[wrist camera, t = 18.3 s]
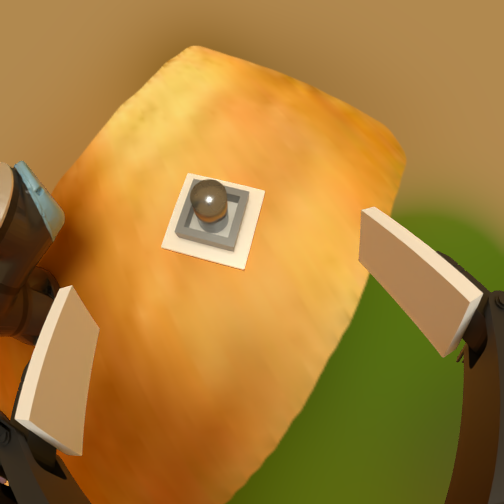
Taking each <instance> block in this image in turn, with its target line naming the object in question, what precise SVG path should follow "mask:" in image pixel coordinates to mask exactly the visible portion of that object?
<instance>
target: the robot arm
mask: <svg viewBox="0 0 504 504" xmlns="http://www.w3.org/2000/svg"><path fill="white" fill-rule="evenodd" d="M64 221H65V215H64V212H63V210H62V209H61V207H60V206H59V205H58V203H57V202H56V201H55V200H54V198H53V197H52V196H51V195H50V193H49V192H48V191H47V189H46V188H45V187H44V186H43V184H42V183H41V182H40V181H39V179H38V178H37V177H36V176H35V174H34V173H33V172H32V170H31V169H30V168H29V167H28V166H27V164H26V163H25V162H24V161H19V162H18V163H17V164H15V165H14V168H11V167H10V166H9V165H8V164H6V163H4V162H0V336H11V337H13V338H15V339H17V340H19V341H21V342H23V343H25V344H28V345H32V346H35V349H34V352H33V355H32V358H31V359H30V361H29V362H28V364H27V365H26V367H25V369H24V371H23V374H22V377H21V382H20V384H19V388H18V389H19V391H17V395H16V399H15V403H14V407H13V411H12V415H11V420H10V423H9V422H8V421H7V420H6V419H4V418H3V417H2V416H1V415H0V477H2V478H4V479H6V480H8V482H9V486H6V485H4V484H2V483H0V504H91V503H90V501H89V500H88V498H87V497H86V496H85V494H84V493H83V492H82V490H81V489H80V487H79V486H78V484H77V483H76V481H75V480H74V478H73V477H72V475H71V474H70V472H69V470H68V469H67V467H66V466H65V464H64V462H63V461H62V459H61V458H60V457H59V456H58V455H56V449H58V450H60V451H61V452H63V453H65V454H67V455H76V456H82V445H83V431H84V420H85V411H86V403H87V395H88V388H89V382H90V375H91V370H92V364H93V359H94V353H95V348H96V344H97V339H98V334H99V330H100V329H99V327H98V326H97V324H96V323H95V321H94V320H93V318H92V317H91V315H90V314H89V312H88V310H87V309H86V307H85V306H84V304H83V302H82V301H81V299H80V297H79V296H78V294H77V292H76V291H75V289H74V287H73V286H72V285H71V286H67V287H64V288H60V287H59V285H58V283H57V281H56V279H55V278H54V276H53V275H52V274H51V273H50V272H48V271H47V270H45V269H42V268H39V267H36V265H37V263H38V262H39V261H40V259H41V258H42V256H43V255H44V253H45V252H46V251H47V249H48V248H49V247H50V245H51V244H52V243H53V242H54V240H55V237H56V235H57V234H58V232H59V231H60V229H61V228H62V226H63V225H64ZM359 262H360V263H361V264H362V265H363V266H364V267H365V268H366V269H367V270H368V271H369V272H370V273H371V274H372V275H373V276H374V278H375V279H376V280H377V281H378V282H379V283H380V284H381V285H382V286H383V287H384V289H385V290H386V291H387V292H388V293H389V294H390V295H391V296H392V297H393V299H394V300H395V301H396V302H397V303H398V304H399V305H400V307H401V308H402V309H403V310H404V311H405V312H406V313H407V314H408V316H409V317H410V318H411V319H412V320H413V322H414V323H415V324H416V325H417V326H418V328H419V329H420V330H421V331H422V332H423V333H424V335H425V336H426V337H427V339H428V340H429V341H430V342H431V343H432V345H433V346H434V347H435V348H436V350H437V351H438V352H439V354H440V355H441V356H442V357H445V356H446V355H448V354H449V353H451V352H452V351H454V350H455V349H456V348H457V346H458V345H459V343H460V341H461V339H462V338H463V340H464V341H465V342H466V343H465V345H464V347H463V349H462V350H461V352H460V354H459V356H458V357H457V361H456V362H459V361H460V359H461V358H462V356H463V355H464V360H463V361H462V363H464V388H463V405H462V417H461V426H460V435H459V441H458V448H457V453H456V459H455V464H454V469H453V474H452V478H451V482H450V486H449V490H448V493H447V497H446V500H445V504H504V292H503V291H494V292H492V293H491V292H489V291H488V290H487V289H486V288H485V287H484V286H483V285H482V284H481V283H480V282H478V281H477V280H476V279H475V278H474V277H473V276H472V275H471V274H469V273H468V272H467V271H465V270H464V268H462V267H461V266H460V265H458V264H457V263H456V262H455V261H454V260H453V259H452V258H450V257H449V256H447V255H445V254H443V253H441V252H439V251H436V252H435V251H434V250H433V249H431V248H430V247H429V246H428V245H426V244H425V243H424V242H422V241H421V240H420V239H418V238H417V237H416V236H414V235H413V234H412V233H411V232H409V231H408V230H406V229H405V228H404V227H403V226H401V225H400V224H398V223H397V222H396V221H394V220H393V219H391V218H390V217H389V216H387V215H386V214H384V213H383V212H381V211H380V210H379V209H377V208H376V207H372V208H367V209H363V210H361V229H360V248H359Z"/></svg>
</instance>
